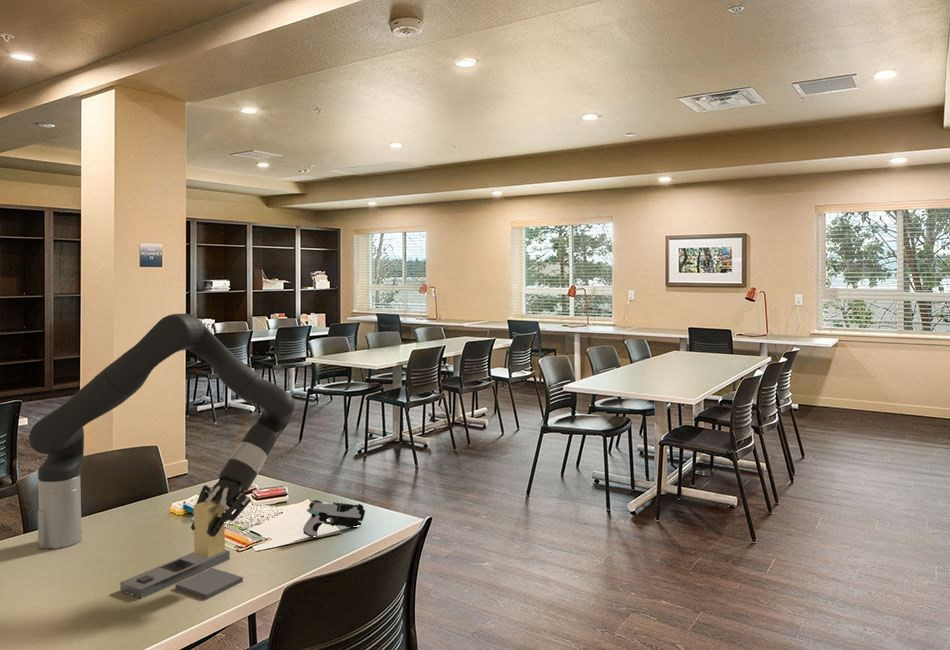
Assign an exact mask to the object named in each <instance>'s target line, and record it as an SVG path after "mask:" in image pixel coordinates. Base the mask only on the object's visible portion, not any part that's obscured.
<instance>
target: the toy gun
mask: <svg viewBox="0 0 950 650" xmlns="http://www.w3.org/2000/svg"><path fill="white" fill-rule="evenodd" d="M308 506H309V507H308V508H307V509H306V512H307V513H309V514H310V517H309V518H308V520H307V521H306V522H305V524H304V525H303V529H302V531H303V534H304V535H305V536H308V537H310V538H312V537H313V536H317V537H318V530H319V528H320V527H321V525H323V524H324V525H330V526H332V527H334V526H338V527H345V528H350V527H353V526H357V525H361V526H362V523H361V522H363V520H364V518H365V514H366V509H364V506H363V504H360V503H358V504H352V503H351V504H350V503H348V504H347V503H342V502H335V501H333V502H327V501H320V500H318V499H314V500H311V502H310V503H309V505H308ZM328 519H330V521H328ZM353 528H354V527H353Z"/></svg>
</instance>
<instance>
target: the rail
mask: <svg viewBox="0 0 950 650" xmlns="http://www.w3.org/2000/svg"><path fill="white" fill-rule="evenodd" d="M230 554H231V553H230V550H227V549H225V551H223V552H220V553H218V554H216V555H214V556H211V557H209V558H208V557H204V556H201V555H198V554H195V553H194V551H193V552H190V553H188V554H185V555H183V556H181V557H178V558H176V559H173V560H170V561H169V562H166V563H164V564H162V565H159V566H156V567H154V568H152V569H149V570H147V571H144V572H142V573H139V574H137V575H134V576H132V577H130V578H127V579H124V580H123V581H120V584H119V586H120V590H122V591H124V592H127V593H130V594H133V595H135V596H138V597H140V598H139V599H143V598H142V597H144V598H145V596H146V597H148V596H150V595H152V593H153V594H155V593H157V592H159V591H161V590H163V589H166V588H168V587H171V586H172V585H175V584H177V583H179V582H182V581H184V580H186V579H188V578H191V577H193V576H195V575H197V574H200V573H202V572H204V571H206V570H208V569H211V568H214V567H215V566H217V565H219V564H222V563H225V562H227V561H228V560H230V559H231V558H230ZM180 568H181V570H179V571H177V572H175V571H174V570H177V569H180ZM122 591H121V592H122ZM124 592H123V593H124ZM154 592H155V593H154ZM127 593H126V594H127ZM130 594H129V595H130ZM149 594H150V595H149ZM133 595H132V596H133ZM147 595H148V596H147ZM135 596H134V597H135ZM138 597H137V598H138Z"/></svg>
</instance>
